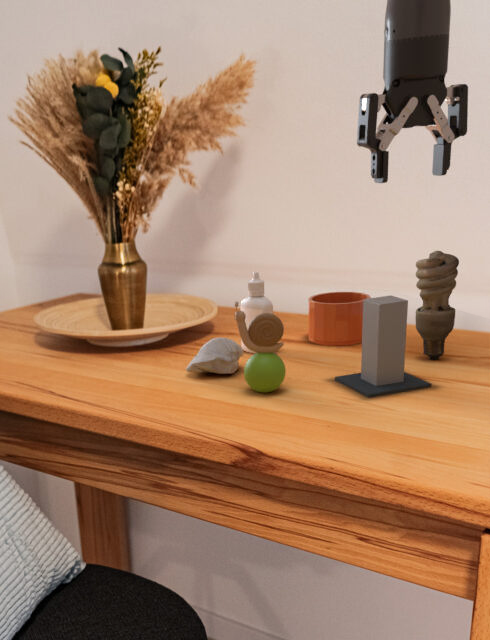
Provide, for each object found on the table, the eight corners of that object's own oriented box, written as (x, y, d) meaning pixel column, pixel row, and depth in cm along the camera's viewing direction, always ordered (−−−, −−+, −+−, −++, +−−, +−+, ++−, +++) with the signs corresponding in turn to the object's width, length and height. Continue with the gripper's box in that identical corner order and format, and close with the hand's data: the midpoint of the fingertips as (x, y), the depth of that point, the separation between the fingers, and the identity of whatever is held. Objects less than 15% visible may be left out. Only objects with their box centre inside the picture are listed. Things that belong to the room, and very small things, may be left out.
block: (387, 374, 113) (391, 295, 108) (403, 381, 109) (408, 300, 105) (360, 378, 112) (363, 299, 107) (376, 386, 108) (379, 304, 104)
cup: (350, 329, 139) (351, 289, 137) (380, 340, 131) (381, 298, 128) (298, 336, 137) (298, 296, 135) (325, 349, 129) (326, 306, 126)
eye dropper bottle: (247, 356, 128) (245, 276, 123) (239, 348, 133) (237, 270, 128) (275, 353, 129) (274, 273, 124) (266, 345, 134) (265, 268, 129)
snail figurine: (237, 387, 114) (234, 298, 109) (284, 385, 114) (284, 295, 109) (236, 399, 110) (233, 306, 105) (286, 397, 109) (285, 303, 104)
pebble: (242, 380, 117) (241, 344, 115) (184, 382, 118) (182, 347, 116) (244, 363, 125) (243, 330, 123) (190, 365, 126) (188, 332, 124)
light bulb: (422, 366, 117) (429, 255, 110) (403, 357, 121) (408, 250, 115) (459, 361, 118) (468, 250, 111) (438, 352, 122) (446, 246, 116)
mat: (393, 371, 116) (393, 367, 115) (431, 388, 108) (431, 383, 107) (334, 381, 114) (334, 376, 113) (368, 398, 106) (368, 394, 105)
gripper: (380, 36, 96) (376, 187, 103) (487, 27, 99) (476, 174, 106) (347, 42, 103) (346, 183, 110) (449, 33, 106) (441, 171, 113)
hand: (410, 178), depth 108 cm, fingers open, 8 cm apart
